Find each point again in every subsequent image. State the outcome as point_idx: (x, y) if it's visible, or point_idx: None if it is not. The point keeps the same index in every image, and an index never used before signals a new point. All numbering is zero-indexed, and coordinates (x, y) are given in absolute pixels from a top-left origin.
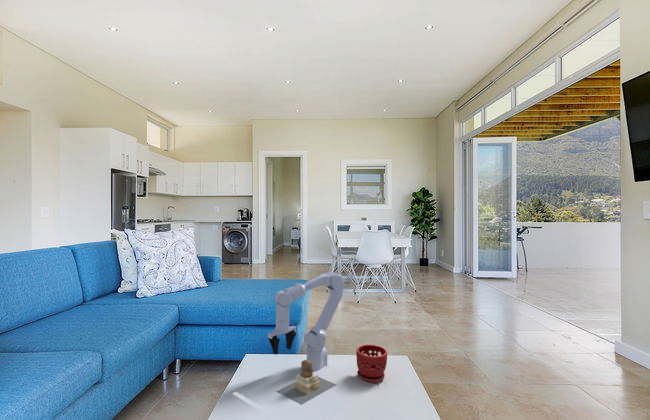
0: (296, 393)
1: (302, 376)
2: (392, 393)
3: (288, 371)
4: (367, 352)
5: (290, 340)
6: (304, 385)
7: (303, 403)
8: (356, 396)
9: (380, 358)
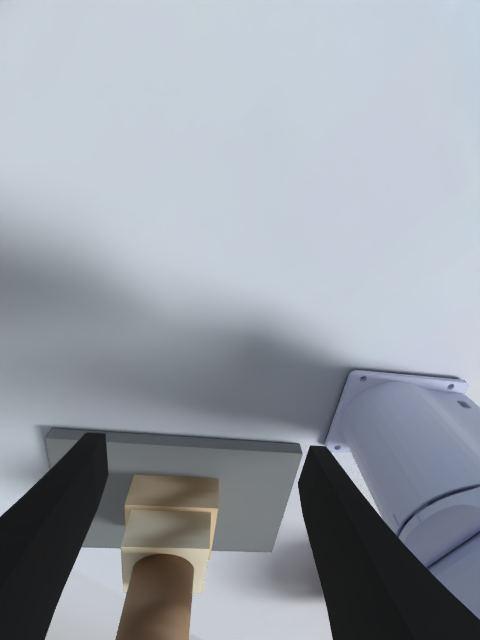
0: (107, 500)
1: (132, 570)
2: (321, 626)
3: (287, 323)
4: None
5: (337, 627)
6: None
7: None
8: (250, 590)
9: None
